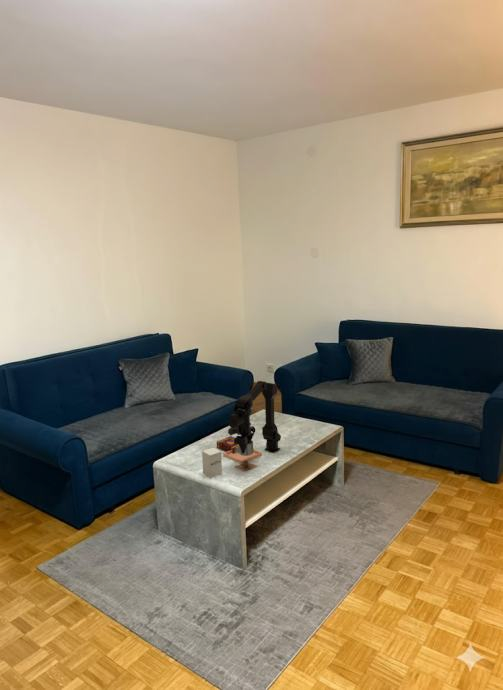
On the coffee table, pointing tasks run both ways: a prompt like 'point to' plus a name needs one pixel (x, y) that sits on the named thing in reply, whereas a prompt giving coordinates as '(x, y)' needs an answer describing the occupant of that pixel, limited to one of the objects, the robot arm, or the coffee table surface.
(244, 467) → the square plate with peg
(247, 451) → the grey tankard
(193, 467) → the coffee table surface
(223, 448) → the decorative book
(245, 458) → the tray
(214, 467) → the supplement box
